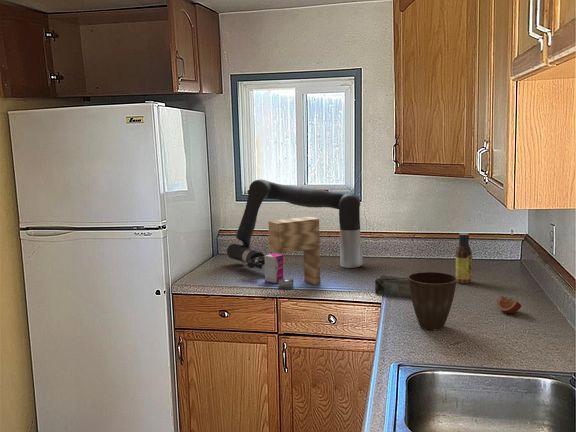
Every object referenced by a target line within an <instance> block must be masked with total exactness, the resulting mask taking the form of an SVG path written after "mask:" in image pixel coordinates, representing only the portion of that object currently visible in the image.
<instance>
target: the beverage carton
mask: <svg viewBox="0 0 576 432" xmlns="http://www.w3.org/2000/svg"><path fill="white" fill-rule="evenodd" d="M374 282H375V283H374V290H375V291H374V293H375V295H381V296H388V297H389V296H390V297H402V298H411V294H410V288H409V281H408V277H404V276H390V275H380V276H378V277H377V278H376V279H375V280H374Z"/></svg>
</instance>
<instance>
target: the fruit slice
mask: <svg viewBox="0 0 576 432" xmlns="http://www.w3.org/2000/svg"><path fill="white" fill-rule="evenodd" d="M496 305H497V308H498V309H499V310H500V311H502V312H503V313H505V314H514V313H517V312H518V311H519V310H520V309H521V308H522V304H521V303H520V302H519V301H516V300H514V299H512V298H507V297H504V296H503V295H499V297H498V298H497V300H496Z"/></svg>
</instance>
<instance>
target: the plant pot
mask: <svg viewBox="0 0 576 432" xmlns="http://www.w3.org/2000/svg"><path fill="white" fill-rule="evenodd" d="M407 278H408V281H409V288H410V294H411V297H410V298H411V302H412V307H413V310H414V314H415V317H416V320H417V323H418V325H419V326H421V327H423V328H422V329H424V328H425V329H424V330H428V329H433V330H432V331H435V330H434V329H439V330H441V328H442V329H443V328H444V327H445V324H446V322H447V321H448V316H449V314H450V312H451V311H450V310H451V308H452V304H453V301H454V296H455V292H456V288H457V287H456V286H457V278H456V275H455V276H454V275H452V274H449V273H446V272H445V273H444V272H437V271H436V272H435V271H422V272H421V271H420V272H415V273H414V272H413V273H412V274H409V275H408V277H407ZM421 327H420V328H421Z"/></svg>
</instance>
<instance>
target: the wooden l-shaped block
mask: <svg viewBox="0 0 576 432" xmlns="http://www.w3.org/2000/svg"><path fill="white" fill-rule="evenodd" d="M267 223H268V224H267V225H268V249H269V250H268V251H270V252H272V253H274V254H280V255H282V254H286V253H295V252H300V251H303V281H304V282H307V283H310V284H312V285H319V284H320V285H321V245H320V243H321V242H320V240H321V239H320V238H321V237H320V236H321V235H320V218H318V217H313V216H301V217H293V218H285V219H284V218H283V219H276V220H275V219H274V220H268V222H267Z"/></svg>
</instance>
